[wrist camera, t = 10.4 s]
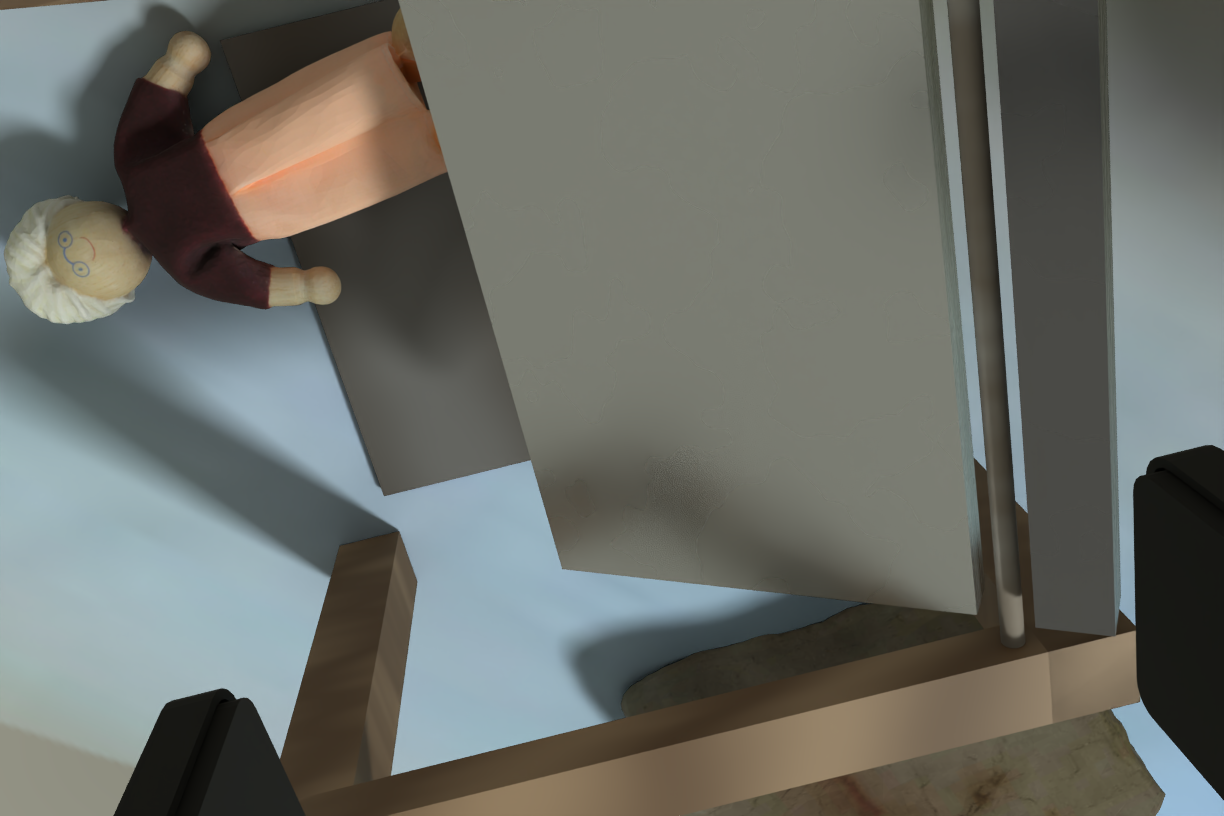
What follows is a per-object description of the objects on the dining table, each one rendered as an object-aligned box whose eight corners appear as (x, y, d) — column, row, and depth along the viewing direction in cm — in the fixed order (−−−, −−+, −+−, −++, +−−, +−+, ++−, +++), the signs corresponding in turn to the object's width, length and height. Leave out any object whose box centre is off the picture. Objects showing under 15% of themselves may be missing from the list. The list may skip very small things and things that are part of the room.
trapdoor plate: (1101, -210, 16) (1091, -210, 15) (1120, 594, 22) (1115, 636, 21) (424, -35, 22) (384, -26, 21) (583, 543, 28) (558, 573, 27)
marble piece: (609, 685, 37) (622, 768, 34) (966, 468, 35) (1024, 529, 32) (826, 941, 44) (858, 1035, 40) (1140, 769, 42) (1206, 850, 38)
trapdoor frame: (846, -270, 26) (1120, -458, 14) (926, 455, 34) (1140, 701, 23) (93, -85, 26) (-232, -125, 14) (359, 596, 34) (287, 912, 23)
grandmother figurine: (490, 182, 24) (30, 414, 25) (522, 216, 28) (122, 417, 29) (356, -103, 25) (-87, 137, 26) (406, -31, 29) (17, 175, 30)
